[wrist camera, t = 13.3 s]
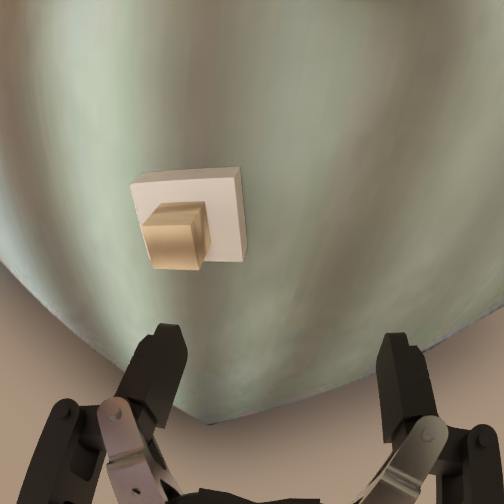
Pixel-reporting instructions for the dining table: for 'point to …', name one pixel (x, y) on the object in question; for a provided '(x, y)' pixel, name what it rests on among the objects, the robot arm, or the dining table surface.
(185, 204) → the maple cube
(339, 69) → the dining table surface
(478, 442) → the robot arm
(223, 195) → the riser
